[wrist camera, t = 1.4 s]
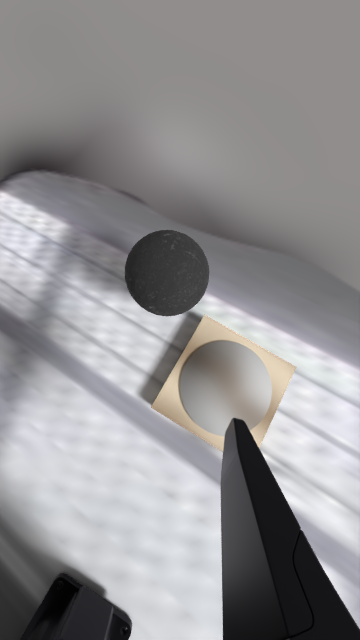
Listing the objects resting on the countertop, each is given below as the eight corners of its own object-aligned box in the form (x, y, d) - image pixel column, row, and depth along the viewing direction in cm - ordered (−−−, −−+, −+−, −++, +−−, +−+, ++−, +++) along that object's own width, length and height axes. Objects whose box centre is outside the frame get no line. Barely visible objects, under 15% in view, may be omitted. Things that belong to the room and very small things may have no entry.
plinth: (244, 462, 21) (250, 469, 19) (152, 405, 22) (150, 407, 20) (288, 367, 23) (297, 366, 21) (202, 318, 24) (205, 314, 22)
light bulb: (135, 280, 24) (112, 215, 15) (192, 273, 25) (207, 205, 15) (141, 337, 23) (121, 307, 13) (201, 329, 24) (224, 294, 14)
